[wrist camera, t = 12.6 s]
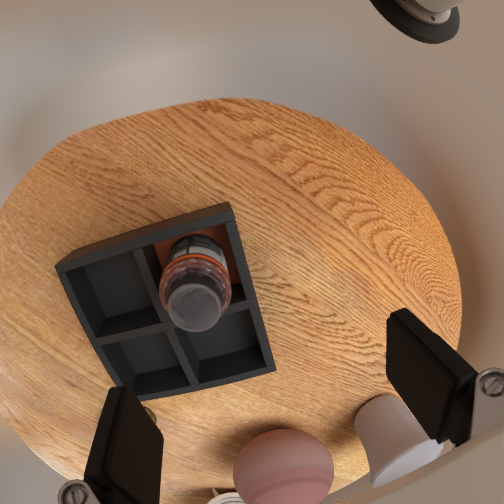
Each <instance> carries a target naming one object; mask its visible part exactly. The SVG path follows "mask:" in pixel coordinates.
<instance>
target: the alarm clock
mask: <svg viewBox="0 0 504 504" xmlns="http://www.w3.org/2000/svg"><path fill="white" fill-rule="evenodd" d="M212 491H213V493H214V496H215V497H214V498H213V499H211V500H210V501H209V502H208V503H207V504H246V503H245V502H244V501H243V500H242V499H241V497H240V496H239V494H238V492H229V493H224V494H221V495H219V494H218V493H217V492H216V490H215V489H214V488H212Z"/></svg>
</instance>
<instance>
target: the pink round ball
mask: <svg viewBox="0 0 504 504" xmlns="http://www.w3.org/2000/svg"><path fill="white" fill-rule="evenodd" d="M333 477H334V465H333V461H332V458H331V455H330V453H329V451H328V450H327V448H326V447H325V446H324V445H323V444H322V443H321V442H320V441H319V440H318V439H317V438H315V437H314V436H312V435H310V434H308V433H305V432H303V431H299V430H294V429H277V430H272V431H268V432H265V433H263V434H261V435H259V436H257V437H255V438H254V439H252V440H251V441H250V442H249V443H247V444H246V445H245V446H244V448H243V449H242V450H241V452H240V453H239V455H238V457H237V459H236V461H235V465H234V469H233V480H234V485H235V488H236V490H237V492H238V494H239V496H240V497H241V499H242V500H243V501H244V502H245V503H246V504H319V503H320V502H321V501H322V500H323V499H324V497H325V496H326V495H327V493H328V492H329V490H330V488H331V485H332V482H333Z"/></svg>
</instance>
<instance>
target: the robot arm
mask: <svg viewBox="0 0 504 504" xmlns="http://www.w3.org/2000/svg"><path fill="white" fill-rule="evenodd" d="M395 1H396V2H397V3H398V4H399V5H400V6H401V7H402V8H403V9H404V10H405V11H406V12H407V13H409V14H410V15H412V16H413V17H414V18H416V19H418V20H420V21H422V22H424V23H427V24H432V25H438V24H441V23H443V22H445V21H447V20H448V18H449V16H450V13H451V8H453V7H455V6H458V5H460V4H463V3H465V2H468V1H470V0H395ZM386 325H387V346H386V375H387V378H388V380H389V381H390V383H391V384H392V385H393V387H394V388H395V390H396V391H397V392H398V394H399V395H400V397H401V398H402V399H403V401H404V402H405V404H406V405H407V407H408V408H409V409H410V411H411V412H412V414H413V415H414V417H415V418H416V419H417V421H418V422H419V424H420V425H421V427H422V428H423V430H424V431H425V432H426V434H427V435H428V437H429V438H430V439H431V440H434V439H435V440H436V441H437V443H438V444H441V443H443V442H444V441H446V440H448V439H450V441H451V442H452V443H453V449H452V450H451V451H449V452H448V453H446V454H444V455H442V456H441V457H439V458H437V459H435V460H433V461H432V462H430V463H428V464H426V465H424V466H422V467H420V468H418V469H416V470H414V471H412V472H410V473H408V474H406V475H404V476H402V477H400V478H398V479H395V480H393V481H391V482H389V483H387V484H384V485H382V486H380V487H377V488H375V489H372V490H370V491H368V492H365V493H362V494H360V495H357V496H354V497H352V498H349V499H346V500H343V501H340V502H337V503H334V504H504V370H503V369H501V368H488V369H486V370H483V371H482V372H481V373H478V372H476V371H475V370H474V369H473V368H472V367H471V366H470V365H469V364H468V363H467V362H466V361H465V360H464V359H463V358H462V357H461V356H460V355H459V354H458V353H457V352H456V351H455V350H454V349H453V348H452V347H451V346H449V345H448V344H447V343H446V342H445V341H444V340H443V339H442V338H441V337H440V336H439V335H437V334H436V333H434V332H432V331H431V330H430V329H429V328H428V327H427V326H426V325H425V324H424V323H423V322H422V321H420V320H419V319H418V318H417V317H416V316H415V315H414V314H413V313H412V312H410V311H409V310H408V309H407V308H402V309H399V310H397V311H394V312H392V313H391V314H390V318H388V319H387V322H386ZM163 444H164V439H163V435H162V433H161V431H160V430H159V428H158V427H157V426H156V424H155V423H154V421H153V420H152V419H151V417H150V416H149V414H148V413H147V411H146V410H145V408H144V407H143V405H142V404H141V402H140V401H139V399H138V398H137V396H136V395H135V393H134V392H133V390H132V389H128V388H127V387H126V386H118V387H111V388H110V389H109V392H108V395H107V398H106V401H105V404H104V407H103V410H102V413H101V416H100V420H99V423H98V426H97V429H96V433H95V436H94V440H93V443H92V447H91V450H90V454H89V457H88V461H87V465H86V469H85V473H84V479H83V481H82V480H78V479H76V480H71V481H69V482H67V483H65V484H64V485H63V486H62V487H61V489H60V490H59V493H58V503H59V504H159V499H160V482H161V468H162V455H163Z"/></svg>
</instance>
